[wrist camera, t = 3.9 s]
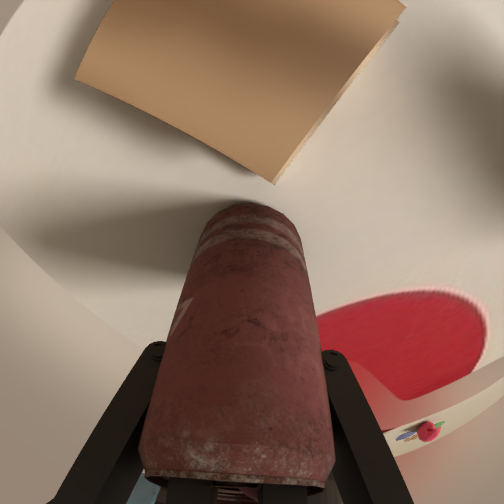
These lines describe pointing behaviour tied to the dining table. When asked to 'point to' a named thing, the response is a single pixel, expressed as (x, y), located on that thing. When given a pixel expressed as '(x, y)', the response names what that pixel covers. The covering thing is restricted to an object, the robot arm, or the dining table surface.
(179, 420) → the can
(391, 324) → the dining table surface
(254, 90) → the stand
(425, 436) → the toy pieces
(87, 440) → the robot arm
